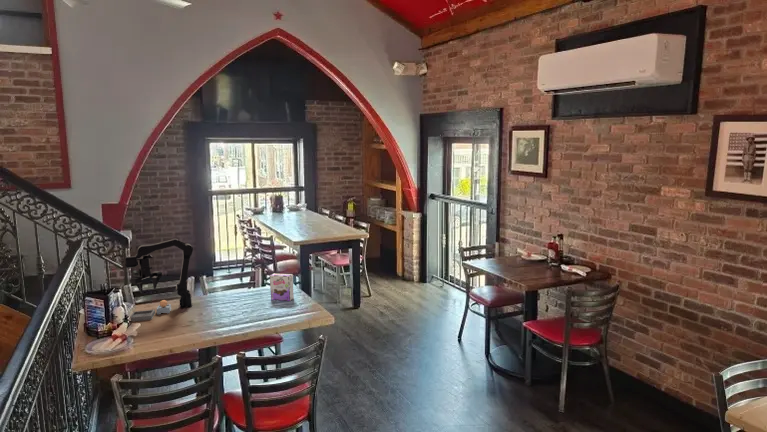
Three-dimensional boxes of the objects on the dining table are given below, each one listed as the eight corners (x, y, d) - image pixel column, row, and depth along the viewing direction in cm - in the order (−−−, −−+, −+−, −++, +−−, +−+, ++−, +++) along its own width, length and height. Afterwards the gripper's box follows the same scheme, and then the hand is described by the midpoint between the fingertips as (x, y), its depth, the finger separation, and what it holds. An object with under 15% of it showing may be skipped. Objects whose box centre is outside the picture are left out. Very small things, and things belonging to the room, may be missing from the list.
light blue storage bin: (171, 309, 325) (170, 304, 324) (169, 313, 318) (169, 307, 318) (158, 310, 323) (158, 305, 323) (156, 314, 316) (156, 308, 316)
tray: (155, 313, 318) (154, 309, 318) (151, 319, 307) (151, 315, 307) (133, 315, 315) (133, 311, 315) (129, 321, 304) (129, 317, 304)
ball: (168, 305, 323) (167, 298, 322) (167, 307, 319) (166, 300, 318) (160, 306, 322) (159, 299, 321) (159, 308, 318) (158, 301, 317)
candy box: (270, 300, 339) (269, 275, 337) (275, 297, 345) (273, 272, 343) (290, 301, 335) (288, 276, 333) (294, 298, 341) (292, 273, 339)
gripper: (149, 261, 331) (152, 285, 333) (122, 268, 315) (125, 293, 317) (161, 262, 325) (164, 287, 328) (134, 270, 309) (137, 295, 312)
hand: (148, 290), depth 321 cm, fingers open, 9 cm apart
